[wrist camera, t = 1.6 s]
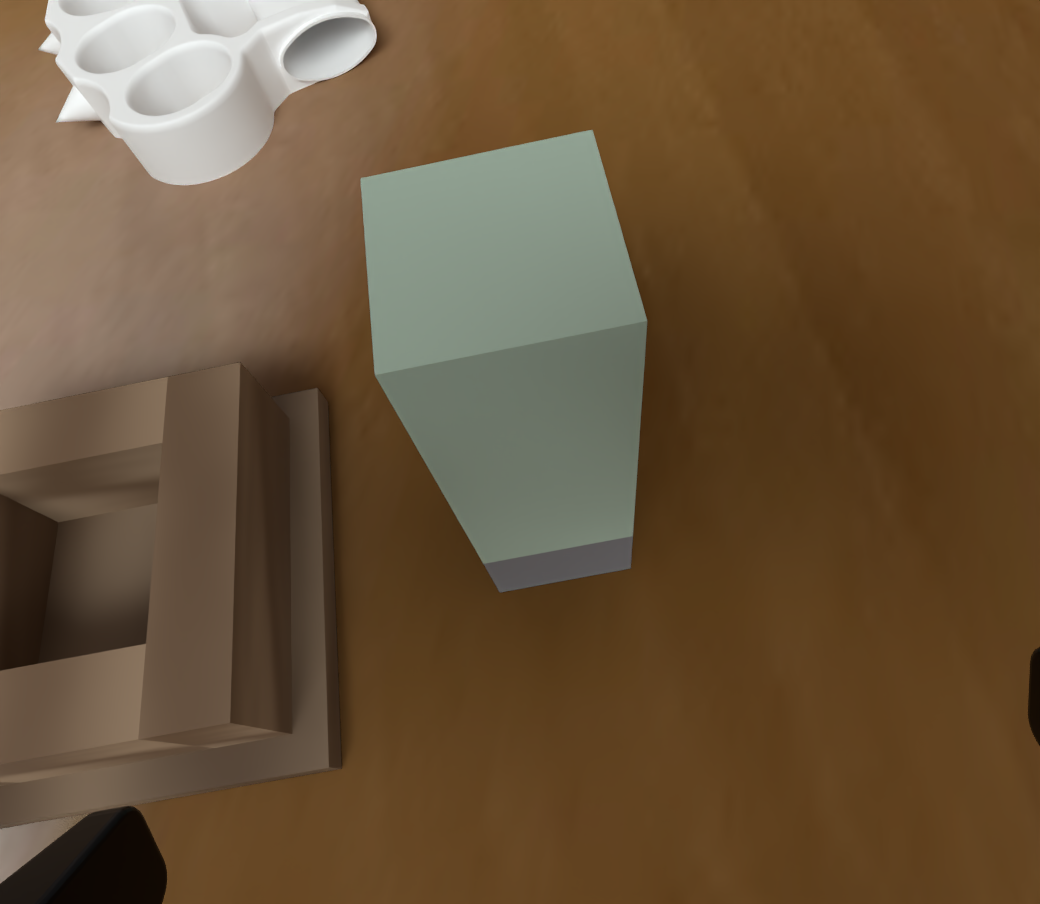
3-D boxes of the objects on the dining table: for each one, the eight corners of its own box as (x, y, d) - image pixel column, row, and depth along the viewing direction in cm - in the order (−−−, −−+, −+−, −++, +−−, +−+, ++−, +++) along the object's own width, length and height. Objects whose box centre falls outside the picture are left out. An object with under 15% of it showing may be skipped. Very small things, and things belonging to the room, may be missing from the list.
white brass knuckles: (411, 102, 32) (104, 236, 31) (293, -83, 40) (45, 18, 39) (389, 30, 29) (48, 176, 28) (267, -154, 37) (-4, -48, 36)
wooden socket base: (328, 402, 25) (273, 327, 21) (341, 768, 20) (272, 762, 16) (-152, 496, 26) (-293, 442, 22) (-262, 874, 21) (-475, 893, 17)
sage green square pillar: (603, 450, 23) (592, 129, 12) (630, 568, 21) (647, 321, 10) (482, 474, 23) (360, 178, 12) (500, 592, 22) (375, 375, 10)
